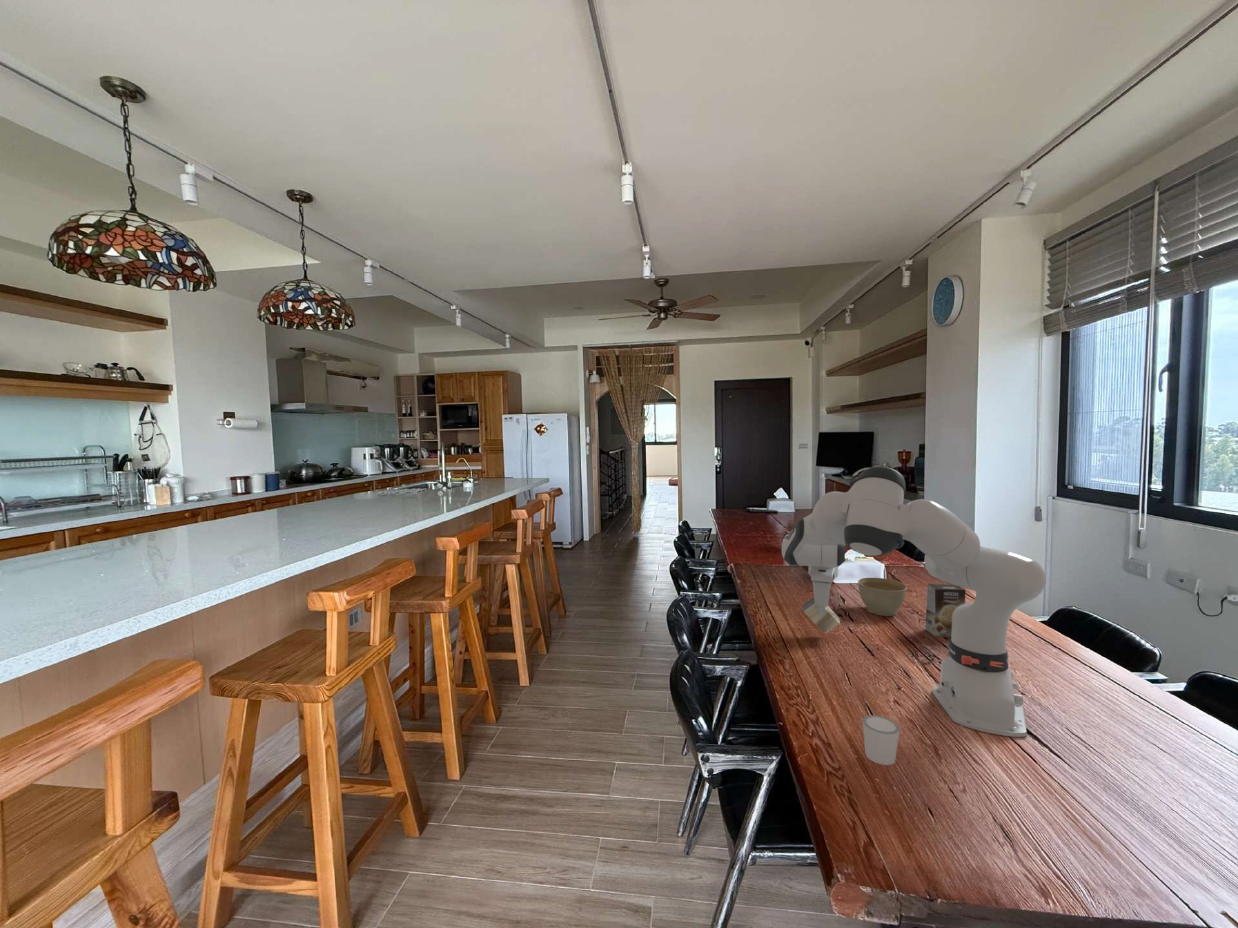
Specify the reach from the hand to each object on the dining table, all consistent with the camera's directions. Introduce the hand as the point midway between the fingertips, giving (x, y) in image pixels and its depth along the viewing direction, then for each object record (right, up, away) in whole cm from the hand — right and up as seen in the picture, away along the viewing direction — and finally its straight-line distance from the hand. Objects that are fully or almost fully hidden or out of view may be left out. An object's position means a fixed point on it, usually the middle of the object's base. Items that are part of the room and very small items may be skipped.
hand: (822, 611), depth 163 cm
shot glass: (-12, -13, -60) cm, 62 cm away
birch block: (+3, -5, -1) cm, 6 cm away
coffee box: (+42, -9, +3) cm, 43 cm away
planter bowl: (+32, -8, +23) cm, 40 cm away
